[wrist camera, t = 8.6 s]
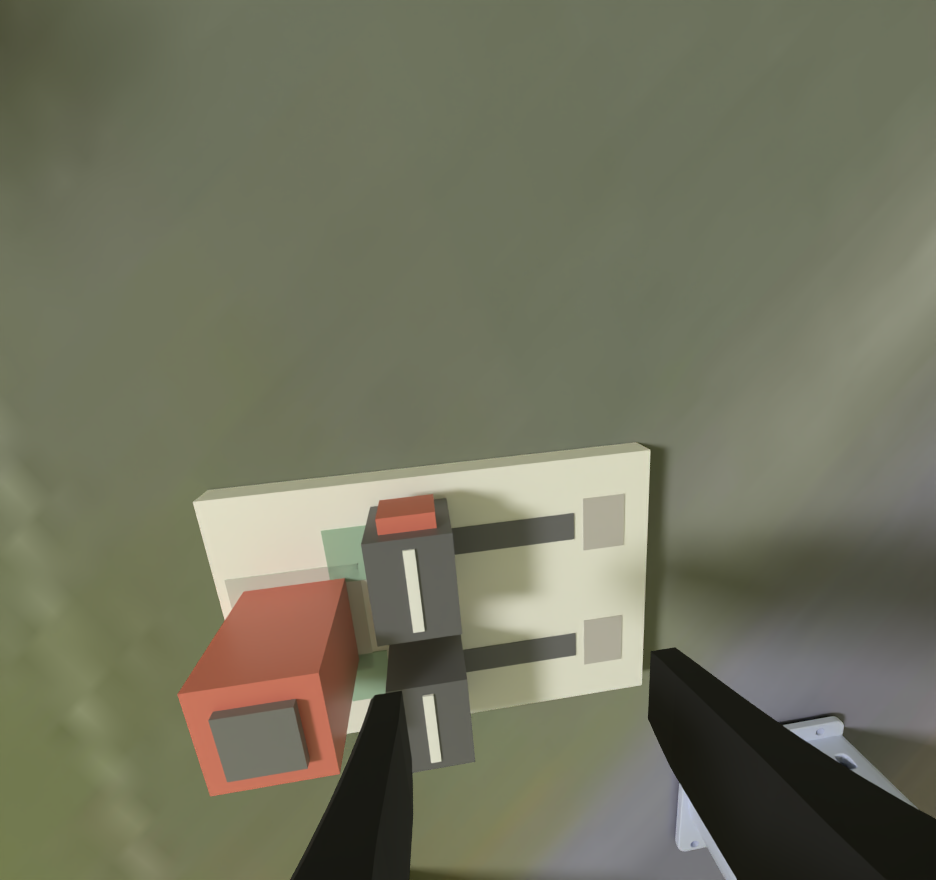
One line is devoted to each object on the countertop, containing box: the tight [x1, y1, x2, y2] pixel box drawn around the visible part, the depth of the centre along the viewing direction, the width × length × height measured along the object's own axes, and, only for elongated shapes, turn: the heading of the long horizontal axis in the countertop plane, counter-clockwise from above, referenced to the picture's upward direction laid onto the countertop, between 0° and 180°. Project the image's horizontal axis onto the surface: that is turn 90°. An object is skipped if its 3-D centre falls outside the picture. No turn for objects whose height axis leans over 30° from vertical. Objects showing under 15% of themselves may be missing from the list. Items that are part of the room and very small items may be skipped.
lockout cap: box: [178, 578, 359, 796], centre depth 16 cm, size 4×4×5 cm
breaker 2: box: [385, 634, 475, 773], centre depth 18 cm, size 3×4×3 cm
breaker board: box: [193, 442, 650, 734], centre depth 19 cm, size 18×12×1 cm, turn 94°
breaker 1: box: [361, 494, 462, 647], centre depth 16 cm, size 3×5×3 cm, turn 4°
